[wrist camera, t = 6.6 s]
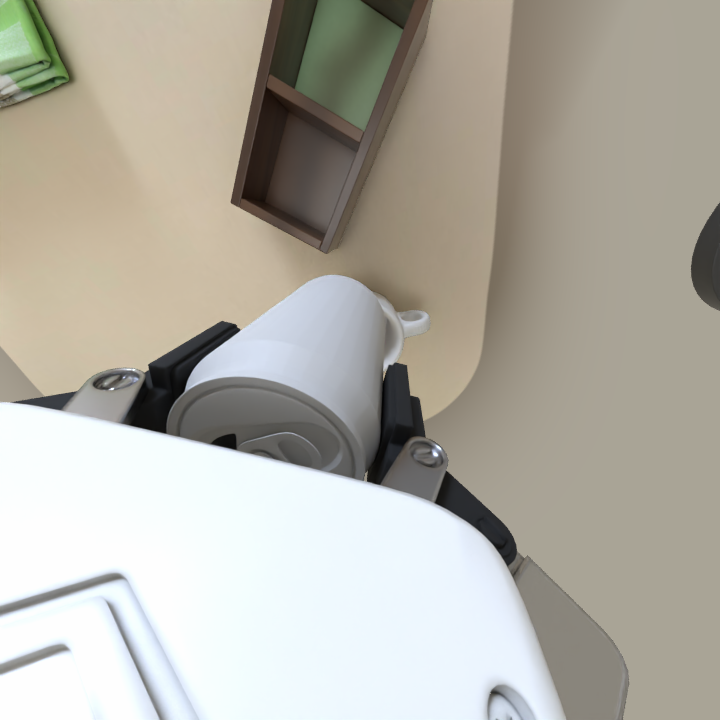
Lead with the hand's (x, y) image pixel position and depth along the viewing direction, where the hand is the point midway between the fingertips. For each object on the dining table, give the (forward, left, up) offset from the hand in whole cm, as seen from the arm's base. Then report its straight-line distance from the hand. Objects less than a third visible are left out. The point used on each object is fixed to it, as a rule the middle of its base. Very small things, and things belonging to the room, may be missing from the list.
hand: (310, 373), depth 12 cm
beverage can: (0, 0, -7) cm, 7 cm away
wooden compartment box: (+8, -11, -21) cm, 25 cm away
